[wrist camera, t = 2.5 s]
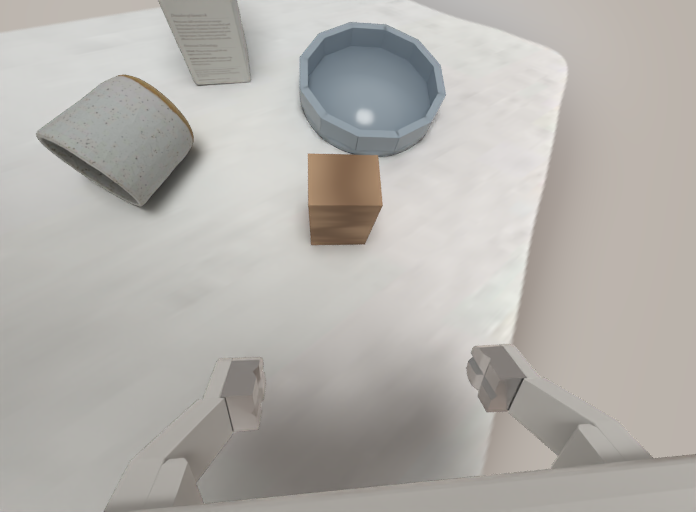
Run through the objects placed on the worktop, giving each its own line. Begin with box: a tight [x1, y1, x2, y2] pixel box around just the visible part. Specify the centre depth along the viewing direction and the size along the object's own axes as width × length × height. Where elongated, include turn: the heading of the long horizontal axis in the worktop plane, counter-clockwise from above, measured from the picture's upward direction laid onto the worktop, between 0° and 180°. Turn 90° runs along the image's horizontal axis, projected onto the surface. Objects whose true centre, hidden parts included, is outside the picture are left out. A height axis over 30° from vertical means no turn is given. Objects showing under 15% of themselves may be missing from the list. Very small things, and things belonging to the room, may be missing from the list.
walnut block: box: [308, 154, 383, 245], centre depth 24 cm, size 5×4×8 cm
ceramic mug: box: [36, 75, 193, 206], centre depth 24 cm, size 11×8×8 cm
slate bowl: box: [300, 22, 446, 157], centre depth 31 cm, size 15×15×3 cm
